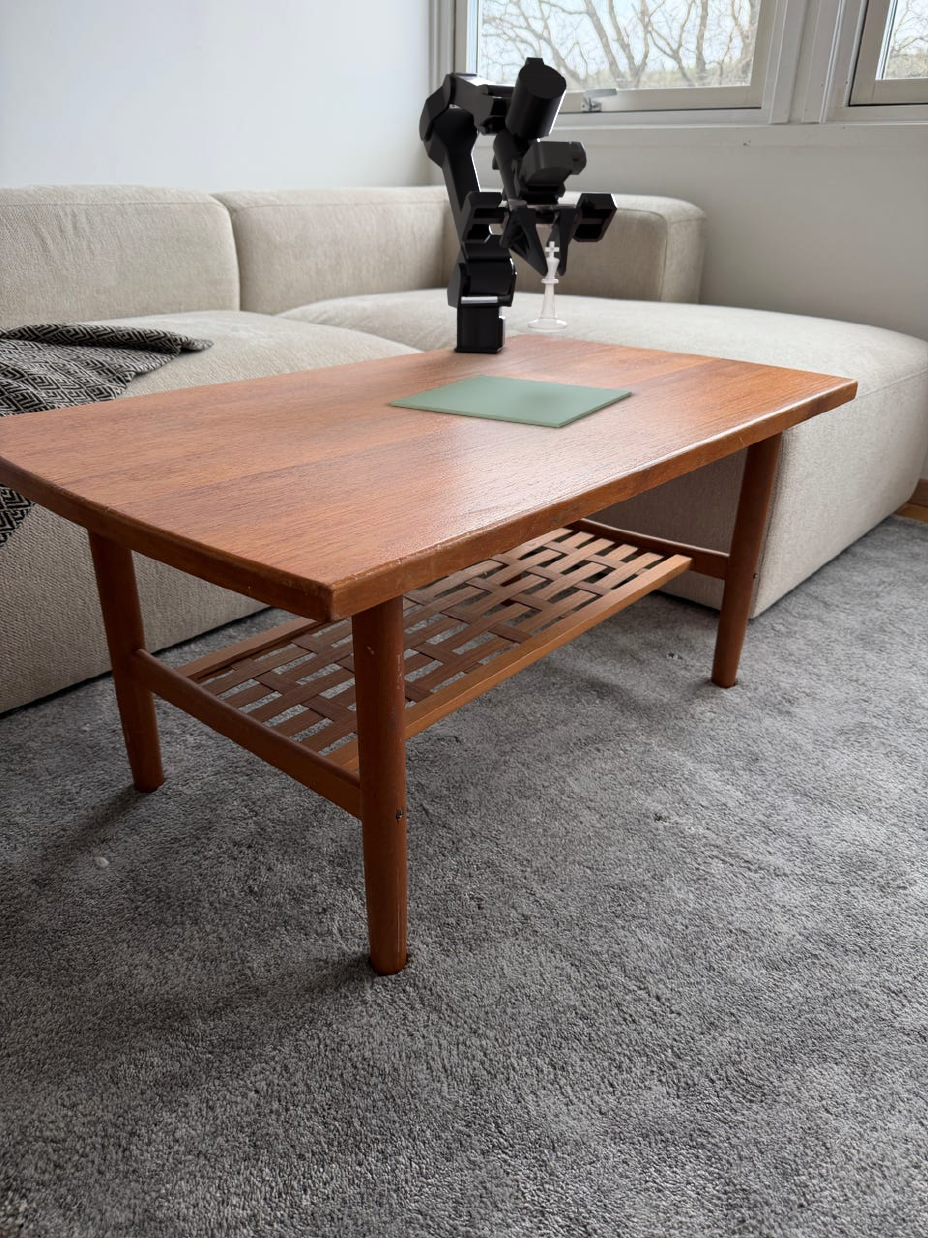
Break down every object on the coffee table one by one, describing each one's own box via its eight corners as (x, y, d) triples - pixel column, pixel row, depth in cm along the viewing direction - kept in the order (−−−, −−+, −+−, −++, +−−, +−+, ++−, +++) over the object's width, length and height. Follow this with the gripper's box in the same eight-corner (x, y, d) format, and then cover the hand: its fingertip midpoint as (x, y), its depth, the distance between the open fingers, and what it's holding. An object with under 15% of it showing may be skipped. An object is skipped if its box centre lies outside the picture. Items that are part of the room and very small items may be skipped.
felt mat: (390, 405, 99) (390, 401, 99) (480, 377, 115) (480, 374, 114) (558, 427, 90) (558, 423, 90) (631, 394, 106) (631, 391, 105)
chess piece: (573, 332, 110) (579, 242, 105) (535, 333, 109) (539, 242, 104) (559, 326, 114) (563, 240, 110) (521, 327, 113) (525, 240, 109)
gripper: (467, 111, 102) (498, 222, 97) (617, 117, 107) (653, 223, 103) (445, 188, 112) (473, 293, 107) (584, 190, 118) (615, 289, 113)
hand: (554, 273), depth 107 cm, fingers closed on chess piece
